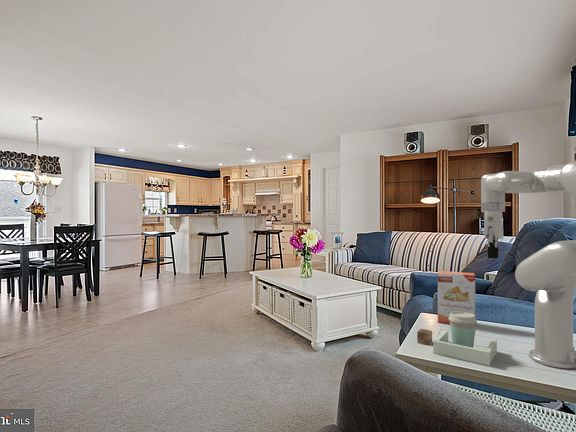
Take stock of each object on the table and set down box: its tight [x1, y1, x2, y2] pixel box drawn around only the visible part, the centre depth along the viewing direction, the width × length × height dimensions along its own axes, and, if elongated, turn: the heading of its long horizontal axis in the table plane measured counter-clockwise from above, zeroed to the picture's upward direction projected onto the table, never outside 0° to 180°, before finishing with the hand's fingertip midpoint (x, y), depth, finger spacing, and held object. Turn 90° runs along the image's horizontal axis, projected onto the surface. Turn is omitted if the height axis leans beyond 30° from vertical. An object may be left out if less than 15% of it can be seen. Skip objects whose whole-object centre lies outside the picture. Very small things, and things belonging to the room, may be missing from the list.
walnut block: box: [416, 328, 433, 346], centre depth 126 cm, size 4×4×4 cm
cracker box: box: [437, 270, 476, 324], centre depth 147 cm, size 14×6×21 cm, turn 67°
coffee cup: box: [449, 312, 478, 348], centre depth 118 cm, size 9×8×12 cm
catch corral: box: [432, 329, 498, 367], centre depth 117 cm, size 16×14×4 cm
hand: (493, 257), depth 130 cm, fingers closed
